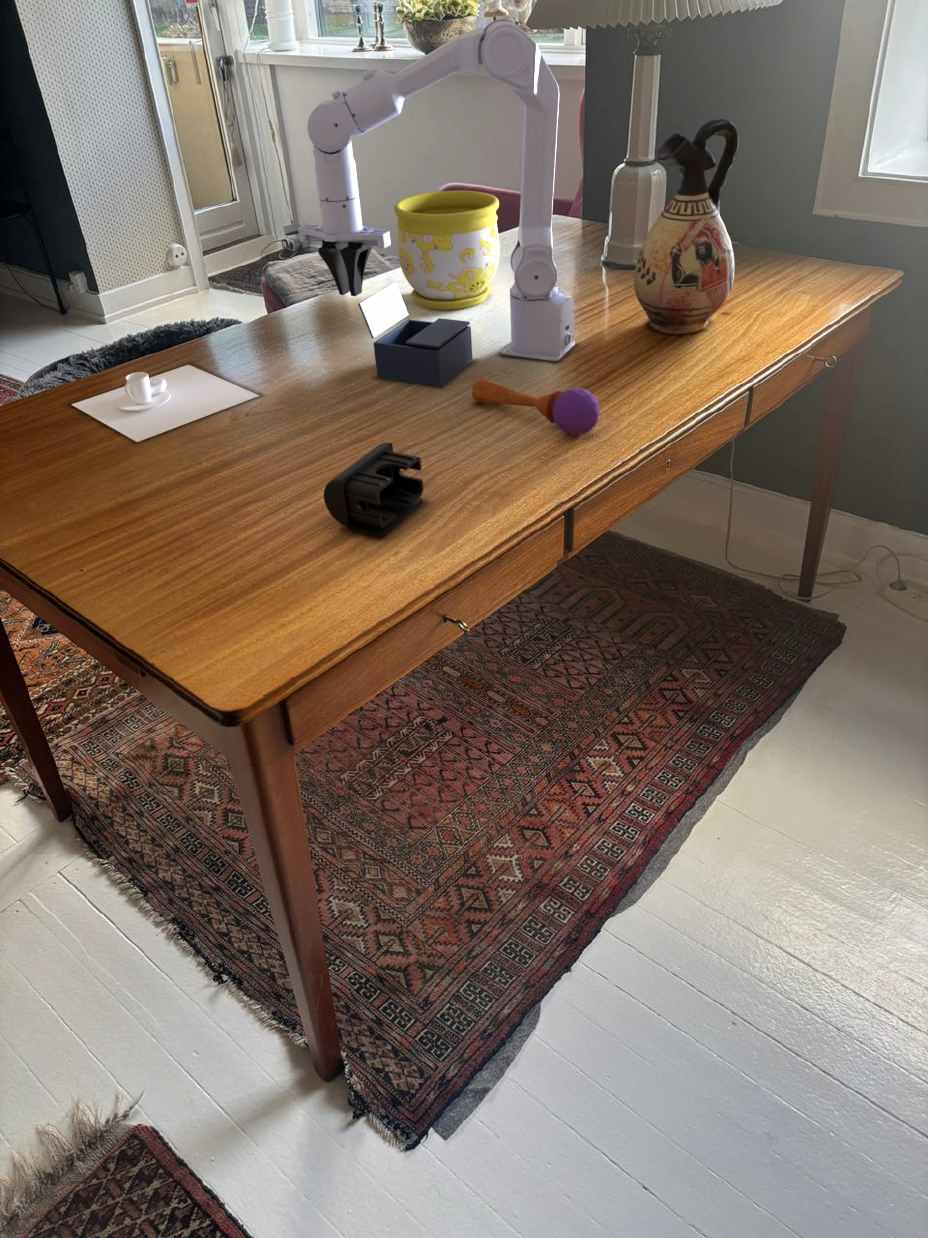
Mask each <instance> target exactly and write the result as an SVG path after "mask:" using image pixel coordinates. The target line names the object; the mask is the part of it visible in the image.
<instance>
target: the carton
mask: <svg viewBox="0 0 928 1238" xmlns="http://www.w3.org/2000/svg"><path fill="white" fill-rule="evenodd" d="M470 324H471V321H467V320H458V319H451V318H443V317H442V318H441V317H439V318H437V319H436V320H434V321H426V320H416V319H407V320H405V321H404V322H402V323H401V324H400V325H398V326H397V327H395V328H394V329H392V330H391V331H389V332H387V333H386V334H385V335H383V336H382V337H380V338H379V339H377V340H375V341H374V342H373V351H374V360H375V361H374V362H375V370H376V378H377V379H384V380H388V381H389V380H390V381H397V382H404V383H410V384H416V385H417V384H418V385H425V386H432V387H439V388H441V387H443V386H444V385H445V384H446V383H448V382H449V381H450V380H451V379H453V378H454V377H455V376H456V375H457V374H459V373H460V372H461V371H462V370H464V369H465V368H466V367H467V366H468V365H469V364H471V363H472V362H473V343H472V326H470Z"/></svg>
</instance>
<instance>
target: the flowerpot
mask: <svg viewBox="0 0 928 1238" xmlns="http://www.w3.org/2000/svg"><path fill="white" fill-rule="evenodd" d="M499 206H500V201H499V199H498V198H497V197H496V196H495V195H493V194H489V193H486V192H481V191H474V190H473V191H472V190H444V191H443V190H442V191H433V192H426V193H421V194H416V195H412V196H408V197H405V198H403V199H400V200H398V202H396V203H395V204H394V207H393V211H394V214H395V215H396V217H398V220H397V223H396V225H397V227H398V236H397V237H398V240H397V247H398V249H397V250H398V259H399V265H400V268H401V271H402V273H403V276H404V278H405V280H406V281H407V283H408V284H409V285H410V287H411V288H412V291H411V296H412V298H413V299H415V300H416V301H417V302H418V304H419V305H421V306H423V307H425V308H428V309H434V310H461V309H466V308H470V307H474V306H477V305H479V304H481V303H483V302H484V301H485V300H486V298H487V296H488V295H489V294H490V293H491V291H492V288H491V286H490V283H491V282H492V280H493V278H494V277H495V274H496V273H497V269H498V265H499V262H500V237H499V229H498V223H497V221H498V219H499V217H498V215H497V210H498V209H499V208H500V207H499Z"/></svg>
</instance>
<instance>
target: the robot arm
mask: <svg viewBox="0 0 928 1238" xmlns="http://www.w3.org/2000/svg"><path fill="white" fill-rule="evenodd" d="M480 65H483V68H484V69H485V71H486V72H487V74H489V76H491V77H492V78H493V79H495V80H497V81H499V82H500V83H502V84H503V85H506V86H508V87H510V88H511V90H512V91H513V92H514V94H516V95H517V97H518V98H519V99H520V100H521V101H522V102H523V104H524V105H523V106H524V107H523V127H522V130H523V131H522V153H521V176H520V177H521V179H520V202H519V203H520V204H519V223H518V229H517V239H516V244H515V246H514V248H513V249H512V251H511V254H510V261H509V262H510V268H511V270H512V272H513V277H514V278H513V280H514V283H513V285H512V286H511V287H510V288H509V309H510V310H509V312H510V313H509V314H510V316H509V317H510V343H509V344H508V345H507V346H506V347H505V348H504V349H502V350H501V355H503V356H509V357H510V356H511V357H518V358H527V359H535V360H543V361H551V362H559V361H560V360H561V359H562V358H563V357H564V356H565V355H566V354H567V353H568V352H569V351H570V350H571V349H572V348H573V347H574V346H575V345H576V341H575V338H574V337H575V303H574V299H573V297H572V296H571V295H568V294H563V293H561V292H559V291H558V290H559V289H558V285H557V281H558V268H557V265H556V263H555V262H554V259H553V231H552V223H553V207H554V191H555V176H556V175H555V173H556V157H557V156H556V155H557V138H558V121H559V104H560V86H559V84H558V82H557V80H556V79H555V77H554V74H553V73H552V70H551V69H550V67H549V65H548V63H547V62H546V60H545V57H544V56H543V54H542V52H541V50H540V48H539V46H538V44H537V43H536V42H535V40H533V38H532V37H530V35H529V34H527V33H526V32H525V30H523V29H522V28H521V27H520V26H519V25H517V24H516V22H514V21H512V20H510V19H508V18H498V19H495V20H493V21H491V22H489V23H488V24H487V25H486V26H485V27H484V28H483V26H479V27H476V28H473V29H471V30H469V31H466V32H464V33H461V34H459V35H457V36H455V37H453V38H452V39H450V40H448V41H447V42H445V43H444V44H442V45H441V46H439V47H437V48H435V49H434V50H432V51H431V52H429V53H427V54H426V55H424V56H422V57H421V58H419V59H417V60H416V61H414V62H413V63H411V64H409V65H408V66H406V67H405V68H403V69H402V70H399V71H398V72H396V73H395V74H394V73H393V74H392V73H389V72H387V71H385V70H381V69H379V70H377V71H375V72H374V73H373V70H372V69H368V70H367V71H365V72H364V73H363V74H362V79H361V80H360V81H358V82H357V83H355V84H353V85H351V86H350V87H348V88H346V89H344V90H343V91H341V92H340V90H339V89H337V90H335V91H333V92H332V93H331V97H332V99H333V100H332V99H327V100H323V101H321V102H319V103H318V104H317V105H315V107H314V108H313V110H312V111H311V113H310V115H309V117H308V120H307V134H308V137H309V139H310V141H311V143H312V144H313V145H312V147H313V149H312V152H313V153H312V154H313V158H314V173H315V180H316V187H317V195H318V201H319V202H318V203H319V208H320V216H321V224H314V225H313V224H305V225H302V226H299V227H298V228H297V231H298V238H299V242H301V243H306V242H316V243H317V242H319V243H321V246H320V247H319V248H318V249H317V251H318V256H320V258H321V259H322V260H323V262H324V263H325V265H326V266H327V268H328V270H329V271H330V273H331V276H332V279H333V280H334V283H335V286H336V288H337V291H338V294H339V295H340V296H344V295H346V294H347V293H350V296H351V297H357V296H359V295H360V294H362V293H363V283H364V277H365V271H366V266H367V262H368V260H369V258H370V254H371V252H372V249H373V247H377V248H378V249H386V248H388V247H389V246H391V245H392V244H391V243H392V242H391V234H390V230H384V229H383V230H382V229H378V228H374V227H368V226H364V225H363V219H362V209H361V201H360V192H359V183H358V174H357V173H358V172H357V166H356V160H355V158H354V152H353V151H354V150H353V144H352V140H351V137H353V136H358V137H361V136H363V135H364V134H366V133H368V132H370V131H372V130H373V129H376V128H378V127H379V126H381V125H382V124H385V123H386V122H388V121H390V120H391V119H393V118H395V117H397V116H399V115H401V113H402V110H403V105H404V102H405V99H408V98H409V97H411V96H413V95H415V94H417V93H420V92H421V91H423V90H425V89H428V88H430V87H431V86H433V85H435V84H437V83H438V82H441V81H443V80H445V79H446V78H448V77H451V76H452V75H455V74H457V73H463V74H471V75H481V71H480Z"/></svg>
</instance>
